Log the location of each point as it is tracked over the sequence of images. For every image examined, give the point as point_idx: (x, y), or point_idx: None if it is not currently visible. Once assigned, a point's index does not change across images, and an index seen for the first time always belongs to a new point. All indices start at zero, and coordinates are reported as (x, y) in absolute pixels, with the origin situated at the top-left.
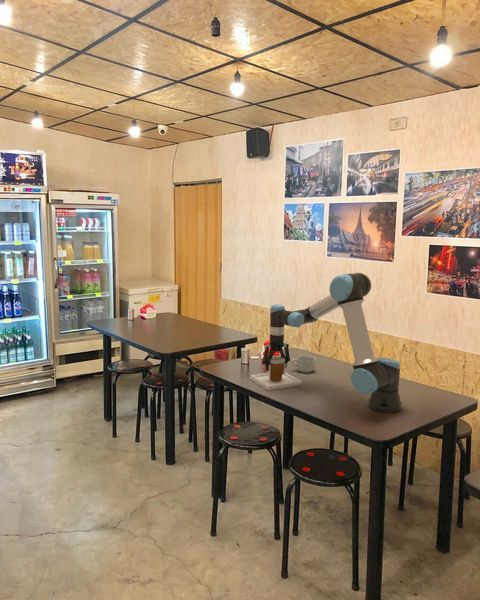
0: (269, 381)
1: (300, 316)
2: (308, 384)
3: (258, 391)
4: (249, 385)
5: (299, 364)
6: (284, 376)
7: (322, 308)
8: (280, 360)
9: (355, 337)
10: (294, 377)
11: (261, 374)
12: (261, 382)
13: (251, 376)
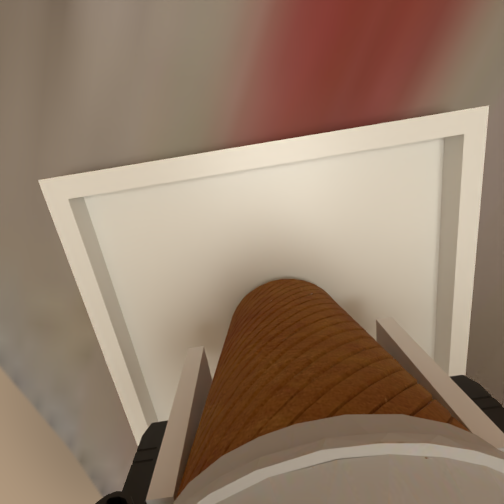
0: (218, 335)
1: None
2: (497, 398)
3: (91, 449)
4: (39, 327)
5: None
6: (420, 232)
7: None
8: None
9: None
10: (464, 354)
11: (178, 180)
12: (122, 394)
13: (51, 199)
